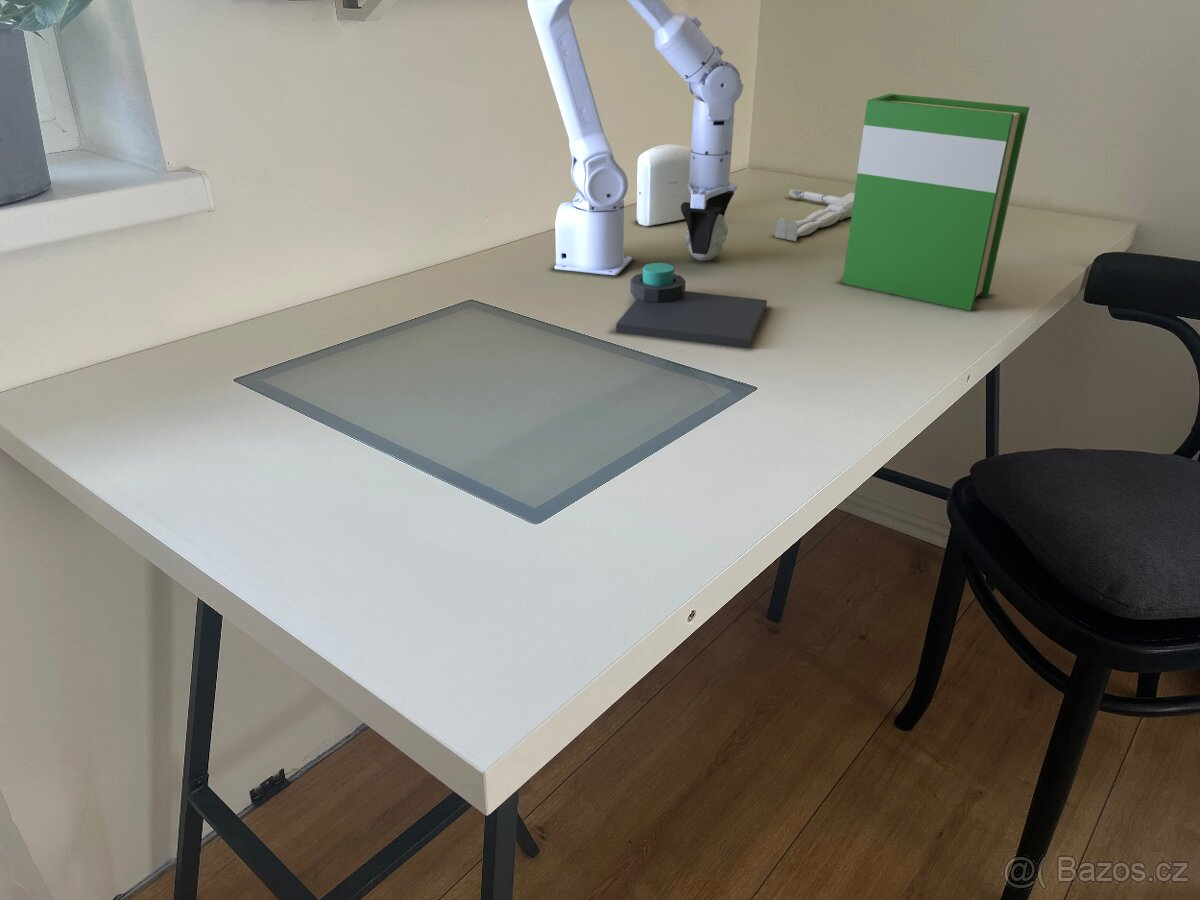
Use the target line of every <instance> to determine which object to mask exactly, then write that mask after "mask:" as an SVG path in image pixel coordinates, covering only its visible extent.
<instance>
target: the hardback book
mask: <svg viewBox="0 0 1200 900" xmlns="http://www.w3.org/2000/svg"><path fill="white" fill-rule="evenodd" d="M1029 111H1030V106H1024V105H1013V104H1002V103H993V102H981V101H971V100H963V99H962V100H961V99H950V98H940V97H930V96H922V95H921V96H920V95H909V94H900V93H899V94H898V93H887V94H884V95H883V94H882V95H880V96H877V97H873V98H871V99H867V101H866V107H865V115H864V123H863V129H862V130H863V131H862V137H861V143H860V151H859V159H858V166H857V174H856V180H855V189H854V193H855V195H854V202H853V209H852V216H851V218H850V225H849V232H848V238H847V239H848V240H847V247H846V253H845V260H844V269H843V275H842V284H844V285H845V284H846V285H851V286H855V287H860V288H864V289H869V290H874V291H878V292H884V293H888V294H890V295H895V296H899V297H904V298H909V299H913V300H917V301H923V302H928V303H932V304H938V305H943V306H947V307H952V308H956V309H960V310H966V311H970V312H971V311H972V310H973V309H974V306H975V301H976V298H977V297H983V298H987V297H988V296H989V294H990V290H991V285H992V281H993V275H994V272H995V266H996V262H997V257H998V253H999V249H1000V244H1001V240H1002V234H1003V230H1004V226H1005V221H1006V216H1007V211H1008V208H1009V207H1008V206H1009V203H1010V198H1011V194H1012V189H1013V185H1014V180H1015V175H1016V170H1017V166H1018V161H1019V157H1020V153H1021V147H1022V144H1023V143H1022V142H1023V138H1024V133H1025V129H1026V124H1027V121H1028V120H1027V119H1028V115H1029Z"/></svg>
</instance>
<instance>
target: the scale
mask: <svg viewBox="0 0 1200 900" xmlns="http://www.w3.org/2000/svg"><path fill="white" fill-rule="evenodd" d="M686 284H687V283H686V279H684V277H683V276H682V275H679V274H677V273H674V283H673V284H671V285H668V286H652V285H647V284H644V283H643V272H641V273H638V274H635V275H634V276H633V277H631V279H630V294H631V296H632V297H633V298H634V299H636V300H635V301H634V302H633V303H632V304H631V305H630V306H629V308H628V309H627V310H626V311H625V312H624V314H623V315H622V316H621V318H619V320H618V321H617V322H616V326H615V327H616V329H615V331H616V333H619V334H627V335H636V336H644V337H652V338H660V339H667V340H677V341H685V342H693V343H701V344H710V345H717V346H726V347H734V348H742V349H749V347H750V344H751V342H752V341H753V338H754V335H755V334H756V332H757V329H758V327H759V326H760V324H761V321H762V319H763V317H764V315H765V312H766V310H767V305H768V300H767V299H761V298H751V297H741V296H732V295H724V294H715V293H714V294H713V293H705V292H696V291H686Z"/></svg>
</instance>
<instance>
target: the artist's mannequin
mask: <svg viewBox="0 0 1200 900" xmlns="http://www.w3.org/2000/svg"><path fill="white" fill-rule="evenodd" d="M788 195H789V196H790V197H792V198H797V199H798V198H799V199H800V198H802V197H803V199H806V200H809V201H813V202H818V203H824V202H825V204H828V205H827V207H826V208H825V209H818V210H816V211H813V212H811V213H810V214H809V215H808V216H806V217H805V218H804V219H798V220H790V221H789V222H788V223H787V221H786V219H785V218H779V219H778V220H777V221H776V224H775V238H778V239H782V240H783V239H784V240H788V241H793V242H797V240H798V237H804V236H808V235H810V234H812V233H813V232H815V231H816V230H817V229H818V228H826V227H829V226H832V225H834V224H836V223H837V222H838V221H843V220H844V219H847V218H850V217H851V216H852V209H853V202H854V195H855V192H849V193H847V194H846V195H844V196H842V197H841V196H836V195H831V194H827V195H825V194H823V193H819V192H814V191H807V190H804V191H803V190H799V189H789V190H788Z"/></svg>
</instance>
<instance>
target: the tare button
mask: <svg viewBox="0 0 1200 900" xmlns="http://www.w3.org/2000/svg"><path fill="white" fill-rule="evenodd" d="M642 273H643V283H644V284H647V285H652V286H668V285H671V284H673V283H674V274H675V267H674V265H671V264H669V263H664V262H651V263H647V264H645V265H643V266H642Z"/></svg>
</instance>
